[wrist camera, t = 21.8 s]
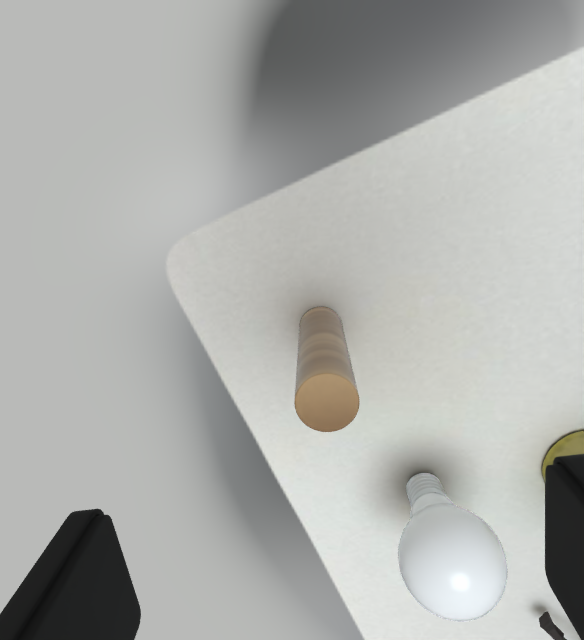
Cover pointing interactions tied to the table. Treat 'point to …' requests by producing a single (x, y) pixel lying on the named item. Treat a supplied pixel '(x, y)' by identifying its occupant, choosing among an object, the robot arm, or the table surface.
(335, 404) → the tan cylinder
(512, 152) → the table surface
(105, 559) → the robot arm
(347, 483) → the table surface
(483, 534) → the lightbulb
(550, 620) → the zombie figurine
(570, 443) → the vase
